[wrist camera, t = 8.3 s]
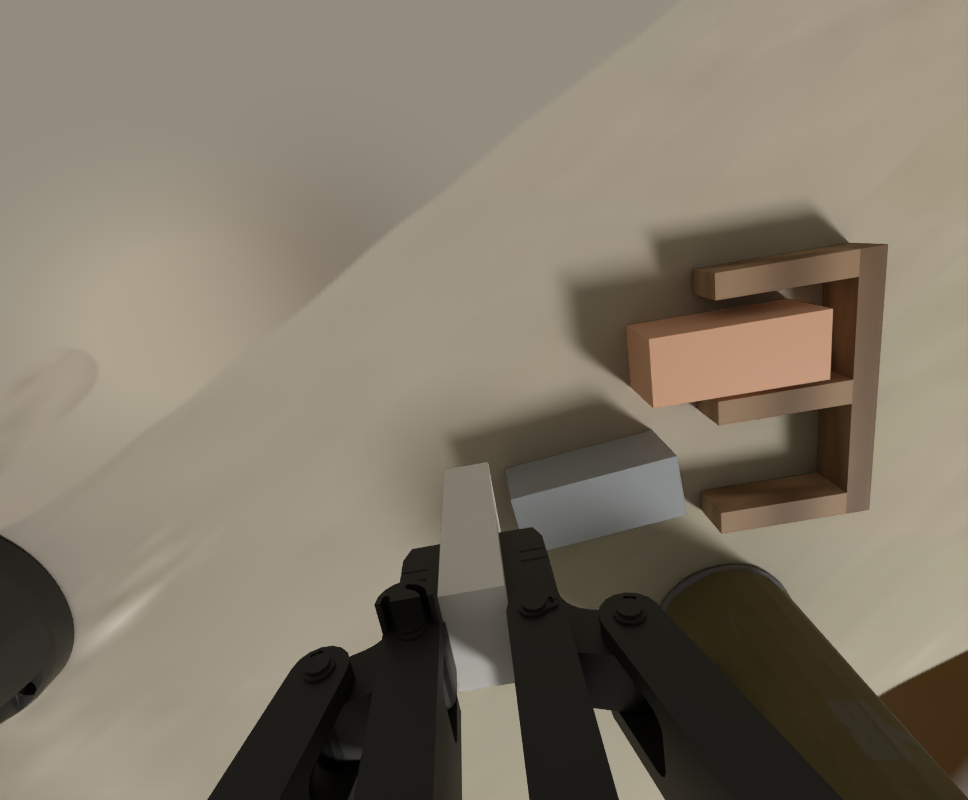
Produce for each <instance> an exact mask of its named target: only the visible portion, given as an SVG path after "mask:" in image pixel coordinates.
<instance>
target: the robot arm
mask: <svg viewBox="0 0 968 800" xmlns="http://www.w3.org/2000/svg"><path fill="white" fill-rule="evenodd" d="M401 574H402V576H401V579H400V583H398V584H395V585H393V586H391V587H390V588H388V589H386V590H385V591H384V592H383V593H382V594H381V595H380V596H379V597H378V598H377V601H376V603H375V608H376V612H377V615H378V619H379V622H380V626H381V629H382V633H383V636H382V640H381V641H380V642H378V643H377V644H376V645H374V646H372V647H370V648H368V649H367V650H364V651H362V652H360V653H357V654H355V655H353V656H350V657H349V655H348V652H346V651H345V650H344V649H343V648H341V647H336V646H328V647H322V648H319V649H317V650H314V651H312V652H310V653H308V654H307V655H306V656H304V657H303V658H301V659H300V660H299V661H298V662H297V663H296V664H295V666H294V667H293V668H292V669H291V671H290V672H289V674H288V675H287V677H286V679H285V680H284V682H283V683H282V685H281V686H280V688H279V689H278V691H277V692H276V694H275V696H274V697H273V699H272V700H271V702H270V703H269V705H268V706H267V708H266V710H265V711H264V713H263V714H262V716H261V717H260V719H259V720H258V722H257V724H256V725H255V727H254V728H253V730H252V731H251V733H250V734H249V736H248V737H247V739H246V741H245V742H244V744H243V745H242V747H241V748H240V750H239V751H238V753H237V755H236V756H235V758H234V759H233V761H232V762H231V764H230V765H229V767H228V769H227V770H226V772H225V773H224V775H223V776H222V778H221V779H220V781H219V782H218V784H217V786H216V787H215V789H214V790H213V792H212V793H211V795H210V796H209V798H208V800H462V765H461V710H460V706H459V702H458V698H457V682H458V686H459V690H460V692H464V691H470V690H475V689H481V688H487V687H493V686H498V685H504V684H510V683H515V687H516V695H517V703H518V711H519V719H520V727H521V735H522V743H523V751H524V759H525V767H526V775H527V783H528V791H529V799H530V800H619V799H618V795H617V792H616V788H615V784H614V781H613V777H612V774H611V770H610V767H609V763H608V760H607V756H606V752H605V749H604V745H603V742H602V738H601V735H600V731H599V727H598V724H597V720H596V717H595V713H594V710H593V708H597V709H605V710H611V711H612V714H613V717H614V719H615V720H616V722H617V723H618V725H619V727H620V728H621V730H622V731H623V733H624V735H625V736H626V738H627V739H628V741H629V743H630V744H631V746H632V747H633V749H634V751H635V752H636V754H637V755H638V757H639V759H640V760H641V762H642V763H643V765H644V767H645V768H646V770H647V771H648V773H649V775H650V776H651V778H652V779H653V781H654V783H655V784H656V786H657V787H658V789H659V791H660V792H661V794H662V795H663V797H664V799H665V800H843V799H842V797H841V796H840V795H839V794H838V793H837V792H836V791H835V790H834V789H833V788H832V787H831V786H830V785H829V784H828V783H827V782H826V781H825V780H824V779H823V778H822V776H821V775H820V774H819V773H818V772H817V771H816V770H815V769H814V768H813V767H812V766H811V765H810V764H809V763H808V762H807V761H806V760H805V759H804V758H803V757H802V755H801V754H800V753H799V752H798V751H797V750H796V749H795V748H794V747H793V746H792V745H791V744H790V743H789V742H788V741H787V740H786V739H785V738H784V737H783V735H782V734H781V733H780V732H779V731H778V730H777V729H776V728H775V727H774V726H773V725H772V724H771V723H770V722H769V721H768V720H767V719H766V718H765V717H764V716H763V714H762V713H761V712H760V711H759V710H758V709H757V708H756V707H755V706H754V705H753V704H752V703H751V702H750V701H749V700H748V699H747V698H746V697H745V696H744V695H743V693H742V692H741V691H740V690H739V689H738V688H737V687H736V686H735V685H734V684H733V683H732V682H731V681H730V680H729V679H728V678H727V677H726V676H725V675H724V673H723V672H722V671H721V670H720V669H719V668H718V667H717V666H716V665H715V664H714V663H713V662H712V661H711V660H710V659H709V658H708V657H707V656H706V655H705V654H704V652H703V651H702V650H701V649H700V648H699V647H698V646H697V645H696V644H695V643H694V642H693V641H692V640H691V639H690V638H689V637H688V636H687V635H686V634H685V632H684V631H683V630H682V629H681V628H680V627H679V626H678V625H677V624H676V623H675V622H674V621H673V620H672V619H671V618H670V617H669V616H668V615H667V614H666V613H665V611H664V610H663V609H662V608H661V607H660V606H659V605H658V604H657V603H656V602H654V601H653V600H651V599H650V598H649V597H646V596H643V595H640V594H637V593H621V594H616V595H613V596H611V597H610V598H608V599H606V600H605V601H604V602H603V603H602V605H601V606H600V608H599V610H589V609H582V608H578V607H575V606H572V605H570V604H569V603H567V602H565V601H564V600H563V599H562V598H561V597H560V595H559V593H558V590H557V586H556V583H555V579H554V576H553V572H552V569H551V565H550V561H549V558H548V554H547V551H546V547H545V543H544V540H543V536H542V535H541V534H540V533H539V532H538V531H537V530H535V529H534V528H533V527H529V528H523V529H517V530H512V531H506V532H501V530H500V525H499V519H498V514H497V509H496V503H495V498H494V492H493V487H492V481H491V476H490V471H489V465H488V462H485V463H479V464H473V465H468V466H462V467H456V468H451V469H445V470H444V482H443V501H442V520H441V539H440V544H439V545H434V546H428V547H422V548H417V549H412V550H411V551H410V553H409V554H408V556H407V557H406V558H405V560H404V561H403V566H402V573H401ZM73 643H74V624H73V618H72V614H71V611H70V608H69V605H68V603H67V601H66V599H65V597H64V595H63V593H62V591H61V590H60V588H59V587H58V585H57V584H56V582H55V581H54V580H53V578H52V577H51V576H50V575H49V574H48V573H47V572H46V570H45V569H44V568H43V567H42V566H41V565H39V564H38V563H37V562H36V561H35V560H34V559H33V558H31V557H30V556H29V555H28V554H26V553H25V552H23V551H22V550H21V549H19V548H17V547H16V546H14V545H13V544H11V543H9V542H7V541H6V540H4V539H2V538H0V724H1V723H3V722H4V721H6V720H7V719H9V718H10V717H12V716H14V715H15V714H17V713H18V712H20V711H21V710H23V709H24V708H25V707H27V706H28V705H29V704H30V703H32V702H33V701H34V700H35V699H36V698H37V697H38V696H39V695H40V694H41V693H42V692H43V691H44V690H45V689H46V687H47V686H48V685H49V684H50V683H51V682H52V681H53V680H54V679H55V678H56V676H57V675H58V674H59V673H60V672H61V671H62V669H63V668H64V666H65V665H66V663H67V661H68V659H69V657H70V654H71V652H72V648H73Z"/></svg>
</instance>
